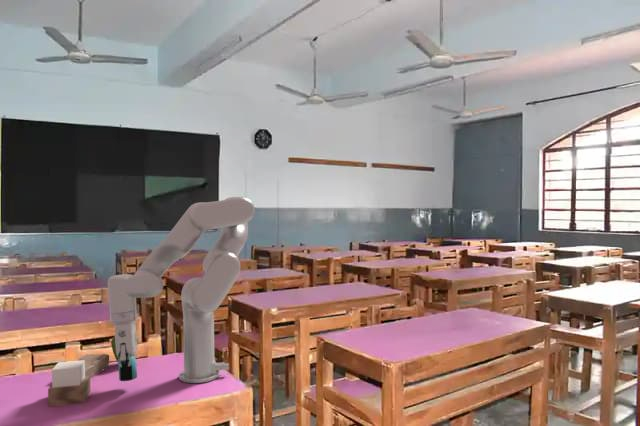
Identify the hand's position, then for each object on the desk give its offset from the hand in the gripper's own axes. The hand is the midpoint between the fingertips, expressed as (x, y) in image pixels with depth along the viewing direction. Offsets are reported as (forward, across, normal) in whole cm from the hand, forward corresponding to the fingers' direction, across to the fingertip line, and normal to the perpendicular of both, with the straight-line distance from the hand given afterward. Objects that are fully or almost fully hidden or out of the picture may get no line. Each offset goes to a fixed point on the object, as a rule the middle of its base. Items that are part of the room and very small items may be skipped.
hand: (128, 375), depth 151 cm
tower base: (+4, -4, +15) cm, 16 cm away
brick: (+4, +18, +16) cm, 24 cm away
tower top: (-1, -4, +15) cm, 16 cm away
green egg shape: (+4, +25, +4) cm, 25 cm away
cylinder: (+1, 0, 0) cm, 1 cm away
